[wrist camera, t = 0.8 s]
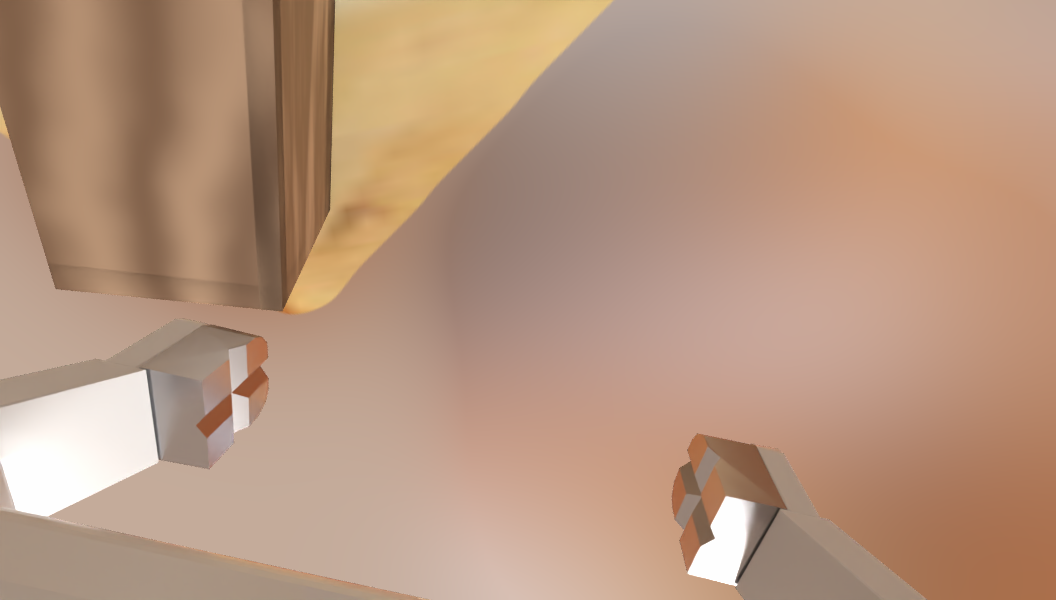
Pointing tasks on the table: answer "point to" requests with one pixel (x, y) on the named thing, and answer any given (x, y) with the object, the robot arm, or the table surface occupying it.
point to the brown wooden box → (172, 141)
